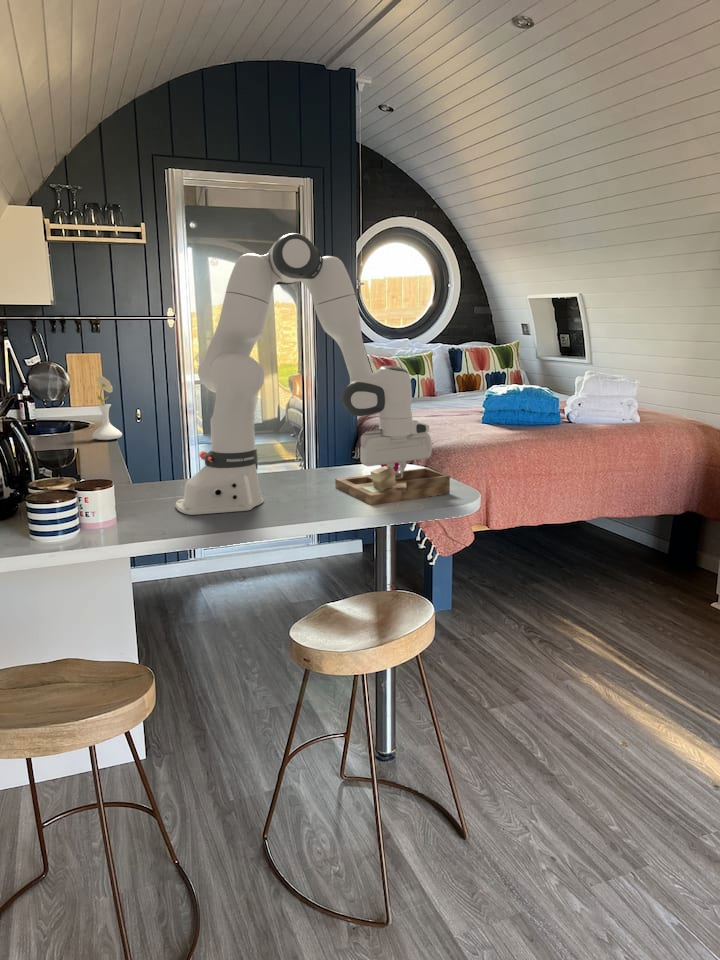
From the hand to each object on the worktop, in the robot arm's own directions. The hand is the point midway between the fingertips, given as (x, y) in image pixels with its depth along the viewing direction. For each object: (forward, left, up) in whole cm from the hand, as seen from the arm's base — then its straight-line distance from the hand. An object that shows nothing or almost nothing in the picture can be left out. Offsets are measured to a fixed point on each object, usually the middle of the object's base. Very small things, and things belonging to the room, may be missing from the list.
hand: (396, 478), depth 201 cm
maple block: (-4, 0, -2) cm, 4 cm away
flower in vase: (-56, +136, -5) cm, 147 cm away
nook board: (+1, +5, -5) cm, 7 cm away
